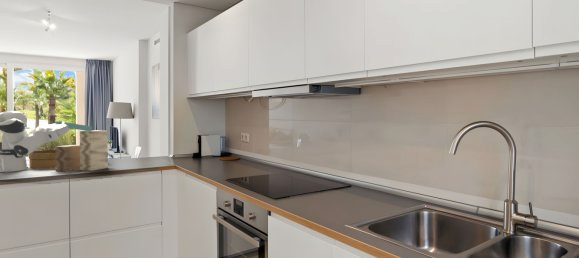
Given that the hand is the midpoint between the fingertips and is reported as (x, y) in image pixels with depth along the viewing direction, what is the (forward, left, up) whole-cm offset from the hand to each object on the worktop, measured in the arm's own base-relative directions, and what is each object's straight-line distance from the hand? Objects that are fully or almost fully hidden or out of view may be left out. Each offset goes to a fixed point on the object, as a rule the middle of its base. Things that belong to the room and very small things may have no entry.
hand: (61, 122), depth 208 cm
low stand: (-11, +16, -32) cm, 37 cm away
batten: (0, +9, -4) cm, 9 cm away
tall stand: (+2, +23, -32) cm, 39 cm away
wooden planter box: (-38, +24, -32) cm, 55 cm away
